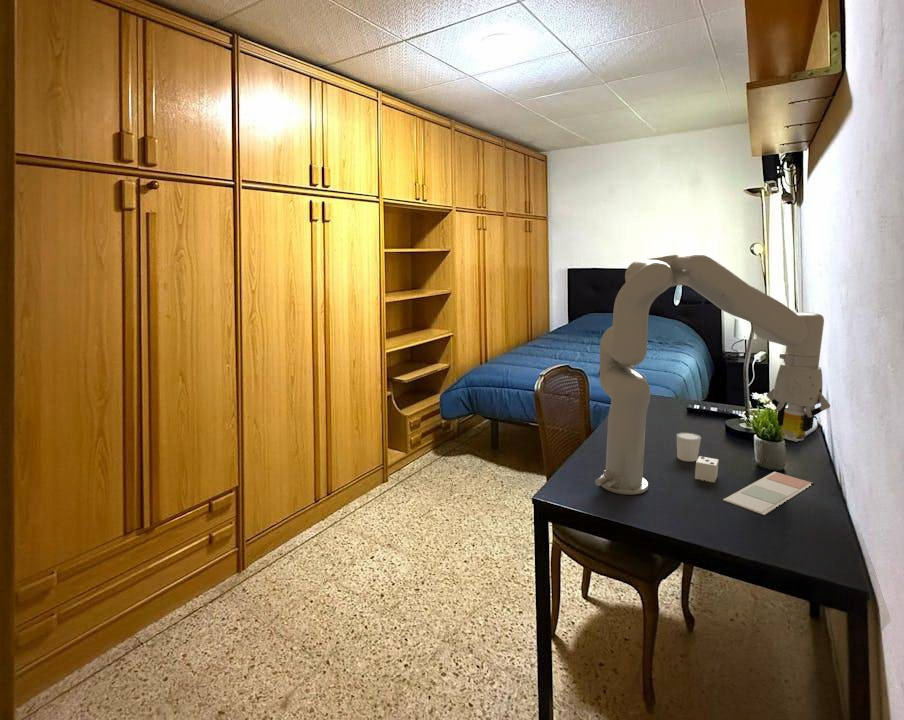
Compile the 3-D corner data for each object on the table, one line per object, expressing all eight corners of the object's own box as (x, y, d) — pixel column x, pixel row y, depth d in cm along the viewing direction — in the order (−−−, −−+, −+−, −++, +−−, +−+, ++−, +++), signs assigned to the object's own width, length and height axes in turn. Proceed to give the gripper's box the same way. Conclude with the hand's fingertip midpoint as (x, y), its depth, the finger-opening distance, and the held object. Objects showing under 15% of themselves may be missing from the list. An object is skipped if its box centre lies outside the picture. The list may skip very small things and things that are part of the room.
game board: (764, 515, 130) (764, 514, 130) (722, 500, 138) (723, 499, 138) (813, 483, 147) (813, 482, 147) (774, 472, 155) (774, 471, 155)
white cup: (702, 462, 162) (703, 440, 161) (677, 461, 163) (678, 439, 162) (696, 454, 169) (698, 432, 167) (672, 453, 170) (674, 431, 168)
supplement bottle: (800, 443, 142) (804, 407, 140) (778, 437, 146) (782, 402, 144) (807, 438, 146) (811, 403, 144) (785, 433, 150) (789, 399, 148)
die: (714, 482, 149) (716, 465, 148) (694, 478, 151) (696, 461, 150) (717, 476, 153) (718, 459, 152) (698, 472, 155) (699, 455, 154)
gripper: (760, 357, 146) (754, 422, 150) (833, 368, 133) (824, 439, 137) (773, 354, 151) (766, 417, 154) (845, 363, 137) (836, 432, 141)
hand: (794, 426), depth 145 cm, fingers closed on supplement bottle, 5 cm apart
